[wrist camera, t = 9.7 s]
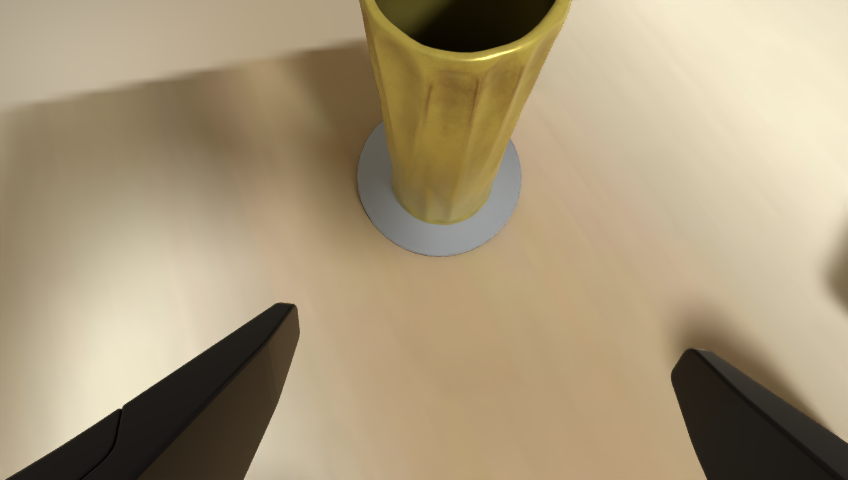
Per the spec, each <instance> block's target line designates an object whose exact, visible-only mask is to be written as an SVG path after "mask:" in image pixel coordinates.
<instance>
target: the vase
mask: <svg viewBox="0 0 848 480" xmlns="http://www.w3.org/2000/svg"><path fill="white" fill-rule="evenodd" d="M359 1H360V6H361V10H362V15H363V21H364V26H365V32H366V37H367V42H368V47H369V52H370V57H371V61H372V66H373V71H374V76H375V80H376V84H377V87H378V91H379V95H380V100H381V107H382V115H383V122H384V128H385V133H386V139H387V145H388V150H389V154H390V158H391V162H392V186H393V191H394V193H395V196H396V198H397V200H398V201H399V203H400V204H401V206H402V207H403V208H404V209H405V210H406V211H407V212H408V213H409V214H411V215H412V216H413V217H415V218H417V219H418V220H421V221H423V222H426V223H430V224H437V225H452V224H456V223H459V222H462V221H465V220H467V219H469V218H470V217H472V216H473V215H474V214H476V213H477V212H478V211H479V210H480V209H481V208H482V207H483V206H484V204H485V203H486V201H487V200H488V198H489V195H490V192H491V189H492V184H493V181H494V179H495V177H496V175H497V172H498V170H499V167H500V164H501V161H502V158H503V155H504V152H505V150H506V147H507V145H508V143H509V140H510V137H511V135H512V132H513V130H514V128H515V126H516V123H517V121H518V118H519V116H520V113H521V111H522V109H523V107H524V105H525V103H526V101H527V99H528V97H529V95H530V93H531V90H532V88H533V86H534V84H535V82H536V80H537V77H538V75H539V73H540V71H541V69H542V66H543V64H544V62H545V60H546V58H547V56H548V54H549V52H550V50H551V48H552V46H553V43H554V41H555V39H556V38H557V36H558V34H559V32H560V31H561V28H562V26H563V24H564V22H565V20H566V18H567V15H568V12H569V9H570V6H571V1H572V0H359Z"/></svg>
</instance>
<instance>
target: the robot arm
mask: <svg viewBox="0 0 848 480" xmlns="http://www.w3.org/2000/svg"><path fill="white" fill-rule="evenodd" d="M299 334H300V328H299V319H298V310H297V307H296V305H295V304H290V303H281V302H280V303H276V304H274V305H273V306H271V307H270V308H268V309H267V310H265V311H264V312H262V313H261V314H259V315H258V316H256V317H255V318H253V319H252V320H250V321H249V322H247V323H246V324H244V325H243V326H241V327H240V328H238V329H237V330H235V331H234V332H232V333H231V334H229V335H228V336H227V337H225V338H224V339H222V340H221V341H219V342H218V343H216V344H215V345H213V346H212V347H210V348H209V349H207V350H206V351H204V352H203V353H201V354H200V355H198V356H197V357H195V358H194V359H192V360H191V361H189V362H188V363H186V364H185V365H183V366H182V367H180V368H179V369H177V370H176V371H174V372H173V373H171V374H170V375H168V376H167V377H165V378H164V379H162V380H161V381H159V382H158V383H156V384H155V385H153V386H152V387H150V388H149V389H147V390H146V391H144V392H143V393H141V394H140V395H138V396H137V397H135V398H134V399H132V400H131V401H129V402H128V403H126V404H125V405H124V406H123V407H122V409H117V410H116V411H114V412H113V413H111V414H110V415H108V416H107V417H105V418H104V419H102V420H101V421H99V422H98V423H96V424H95V425H93V426H91V427H90V428H88V429H87V430H85V431H84V432H82V433H81V434H79V435H77V436H76V437H74V438H73V439H71V440H70V441H68V442H67V443H65V444H64V445H62V446H60V447H59V448H57V449H55V450H54V451H52V452H51V453H49V454H47V455H46V456H44V457H42V458H41V459H39V460H37V461H36V462H34V463H32V464H31V465H29V466H27V467H26V468H24V469H22V470H21V471H19V472H17V473H16V474H14V475H12V476H11V477H9V478H7V479H6V480H244V478H245V475H246V473H247V471H248V469H249V466H250V464H251V462H252V460H253V458H254V455H255V453H256V451H257V449H258V446H259V444H260V442H261V440H262V438H263V435H264V433H265V431H266V429H267V426H268V424H269V422H270V420H271V418H272V415H273V413H274V411H275V408H276V406H277V404H278V401H279V398H280V395H281V392H282V389H283V386H284V383H285V380H286V377H287V374H288V371H289V368H290V365H291V362H292V358H293V355H294V352H295V349H296V346H297V343H298V340H299ZM671 381H672V385H673V388H674V391H675V394H676V397H677V400H678V403H679V406H680V409H681V412H682V415H683V418H684V421H685V424H686V427H687V430H688V433H689V436H690V439H691V442H692V445H693V447H694V450H695V452H696V455H697V457H698V460H699V462H700V464H701V467H702V469H703V471H704V473H705V476H706V478H707V480H848V443H847V442H845V441H844V440H842V439H841V438H839V437H838V436H836V435H835V434H833V433H832V432H830V431H829V430H827V429H826V428H824V427H823V426H821V425H820V424H818V423H817V422H815V421H814V420H813V419H811V418H810V417H808V416H807V415H805V414H804V413H802V412H801V411H799V410H798V409H796V408H795V407H793V406H792V405H790V404H789V403H787V402H786V401H784V400H783V399H781V398H780V397H778V396H777V395H775V394H774V393H773V392H771V391H770V390H768V389H767V388H765V387H764V386H762V385H761V384H759V383H758V382H756V381H755V380H753V379H752V378H750V377H749V376H747V375H746V374H744V373H743V372H741V371H740V370H738V369H737V368H735V367H734V366H733V365H731V364H730V363H728V362H727V361H725V360H724V359H722V358H721V357H719V356H718V355H716V354H715V353H713V352H712V351H710V350H707V349H700V348H688V349H686V350H685V351H684V353H683V354H682V356H681V357H680V359H679V361H678V362H677V364H676V365H675V367H674V368H673V370H672V373H671Z"/></svg>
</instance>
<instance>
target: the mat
mask: <svg viewBox="0 0 848 480" xmlns="http://www.w3.org/2000/svg"><path fill="white" fill-rule="evenodd" d="M357 183H358V190H359V195H360V198H361V202H362V204H363V206H364V209H365V211H366V213H367V214H368V216H369V218H370V219H371V221H372V223H373V224H374V225H375V226H376V228H377V229H378V230H379V231H380V232H381V233H382V234H383V235H384V236H385V237H386V238H387V239H389V240H390V241H392V242H393V243H394V244H396V245H398V246H400V247H402V248H403V249H405V250H408V251H411V252H414V253H417V254H421V255H425V256H435V257H441V256H452V255H458V254H462V253H465V252H468V251H471V250H473V249H475V248H477V247H479V246H481V245H482V244H484V243H486V242H487V241H489V240H490V239H491V238H492V237H493V236H495V235H496V234H497V233H498V231H499V230H500V229H501V228H502V227H503V226H504V225H505V224H506V222H507V221H508V219H509V218H510V216H511V215H512V213H513V211H514V209H515V207H516V204H517V201H518V198H519V194H520V189H521V166H520V161H519V157H518V154H517V151H516V149H515V146H514V144H513V142H512V141H511V139H510V140H509V143H508V145H507V147H506V150H505V152H504V155H503V158H502V161H501V164H500V167H499V170H498V172H497V175H496V177H495V179H494V181H493V184H492V189H491V192H490V195H489V198H488V200H487V201H486V203H485V204H484V206H483V207H482V208H481V209H480V210H479V211H478V212H477V213H476V214H474V215H473V216H472V217H470V218H469V219H467V220H465V221H462V222H459V223H456V224H452V225H437V224H430V223H426V222H423V221H421V220H418V219H417V218H415V217H413V216H412V215H411V214H409V213H408V212H407V211H406V210H405V209H404V208H403V207H402V206H401V204H400V203H399V201H398V200H397V198H396V196H395V193H394V191H393V186H392V162H391V158H390V154H389V150H388V145H387V139H386V133H385V128H384V122H383V121H382V122H381V123H380V124H379V125H378V126H377V127H376V128H375V129H374V131H373V132H372V133H371V134H370V136H369V138H368V139H367V141H366V143H365V145H364V147H363V150H362V152H361V156H360V159H359V164H358V171H357Z"/></svg>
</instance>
